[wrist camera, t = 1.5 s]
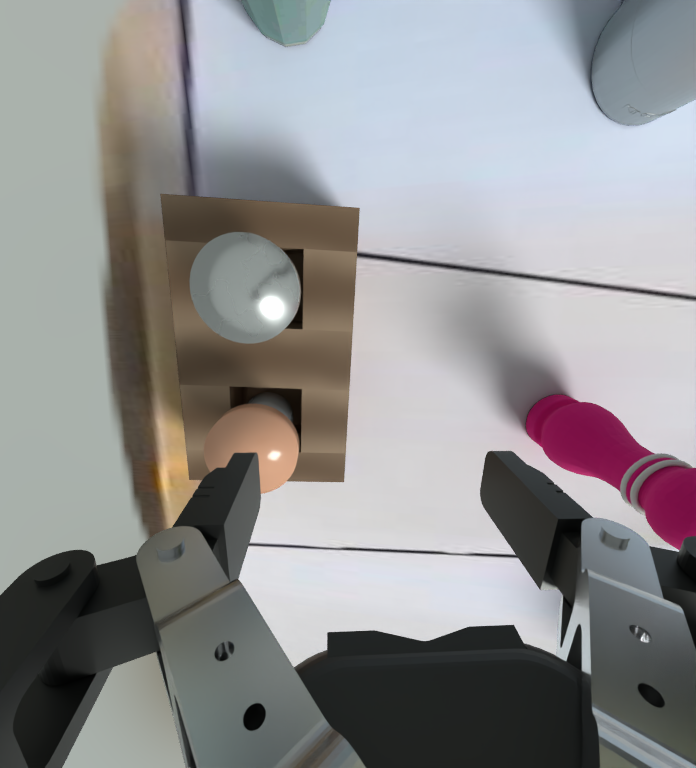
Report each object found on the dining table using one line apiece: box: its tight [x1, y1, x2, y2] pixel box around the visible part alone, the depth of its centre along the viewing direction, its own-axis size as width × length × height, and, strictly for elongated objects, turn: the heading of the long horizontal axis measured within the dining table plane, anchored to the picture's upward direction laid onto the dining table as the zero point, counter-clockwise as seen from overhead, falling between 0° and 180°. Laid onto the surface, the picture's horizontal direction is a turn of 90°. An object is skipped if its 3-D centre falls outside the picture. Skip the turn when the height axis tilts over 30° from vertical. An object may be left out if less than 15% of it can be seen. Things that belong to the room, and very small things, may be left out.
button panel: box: [160, 194, 360, 482], centre depth 30 cm, size 23×14×7 cm, turn 177°
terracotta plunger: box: [204, 392, 299, 494], centre depth 26 cm, size 6×6×7 cm
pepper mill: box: [526, 395, 696, 550], centre depth 28 cm, size 7×7×20 cm
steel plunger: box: [190, 232, 301, 344], centre depth 23 cm, size 6×6×7 cm
